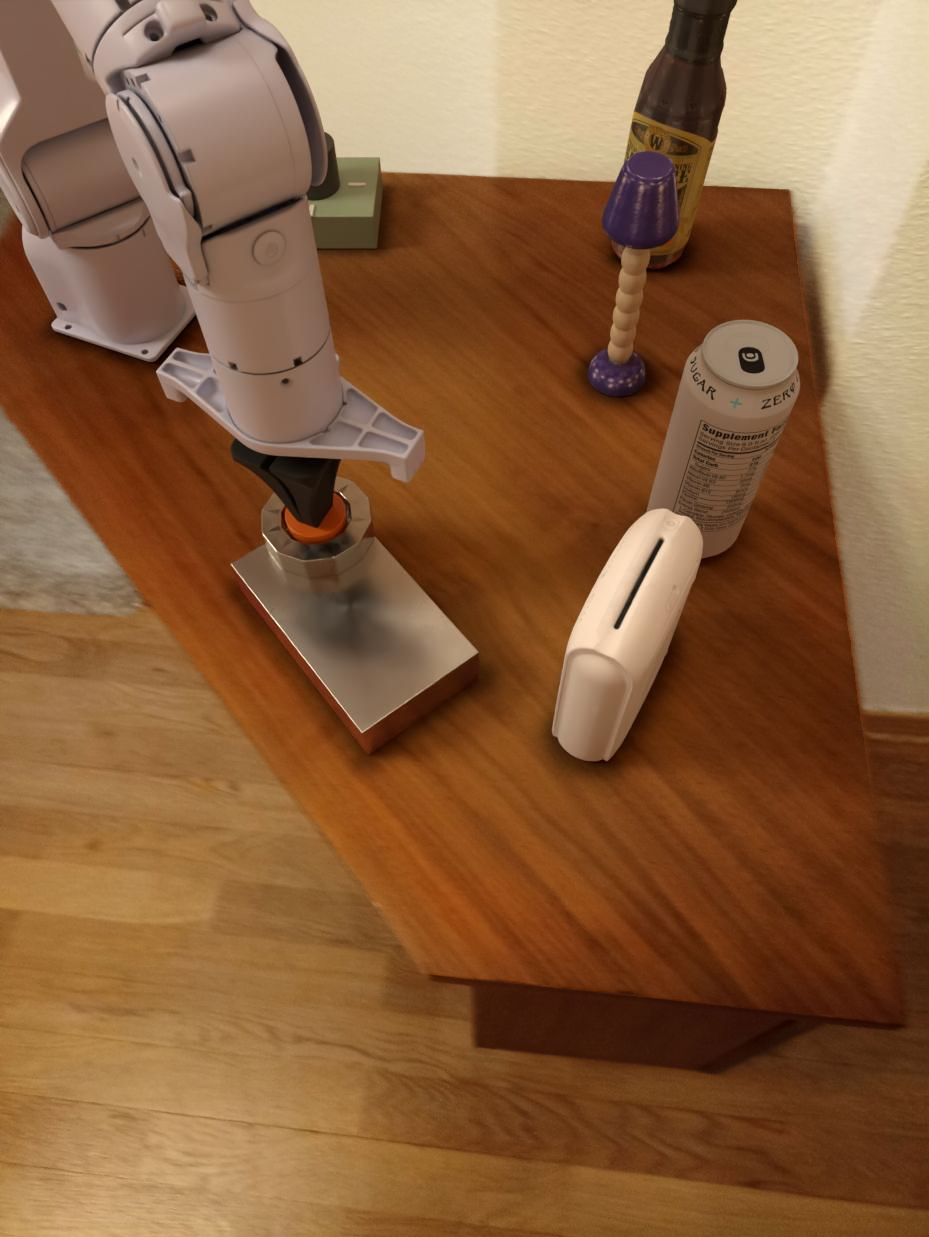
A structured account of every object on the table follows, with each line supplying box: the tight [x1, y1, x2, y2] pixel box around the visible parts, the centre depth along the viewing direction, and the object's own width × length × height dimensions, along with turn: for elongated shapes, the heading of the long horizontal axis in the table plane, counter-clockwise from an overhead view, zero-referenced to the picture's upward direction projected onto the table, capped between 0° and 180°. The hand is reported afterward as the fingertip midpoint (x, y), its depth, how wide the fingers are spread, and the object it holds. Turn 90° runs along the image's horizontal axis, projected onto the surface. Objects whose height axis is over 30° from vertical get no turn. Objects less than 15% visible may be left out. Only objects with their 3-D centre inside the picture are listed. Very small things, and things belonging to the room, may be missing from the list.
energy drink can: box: [645, 319, 801, 560], centre depth 51 cm, size 6×6×15 cm
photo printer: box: [551, 508, 703, 762], centre depth 47 cm, size 10×4×12 cm, turn 152°
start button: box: [285, 493, 349, 545], centre depth 53 cm, size 4×4×2 cm
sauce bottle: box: [611, 0, 738, 270], centre depth 64 cm, size 6×6×20 cm
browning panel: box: [308, 156, 384, 250], centre depth 74 cm, size 10×8×3 cm
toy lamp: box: [587, 151, 679, 398], centre depth 58 cm, size 5×5×17 cm
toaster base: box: [230, 475, 480, 756], centre depth 52 cm, size 16×9×5 cm, turn 38°
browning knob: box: [306, 131, 340, 200], centre depth 71 cm, size 4×4×4 cm
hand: (315, 512), depth 52 cm, fingers closed, pressing on start button
